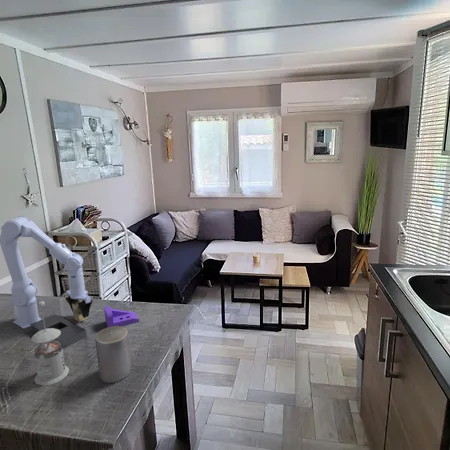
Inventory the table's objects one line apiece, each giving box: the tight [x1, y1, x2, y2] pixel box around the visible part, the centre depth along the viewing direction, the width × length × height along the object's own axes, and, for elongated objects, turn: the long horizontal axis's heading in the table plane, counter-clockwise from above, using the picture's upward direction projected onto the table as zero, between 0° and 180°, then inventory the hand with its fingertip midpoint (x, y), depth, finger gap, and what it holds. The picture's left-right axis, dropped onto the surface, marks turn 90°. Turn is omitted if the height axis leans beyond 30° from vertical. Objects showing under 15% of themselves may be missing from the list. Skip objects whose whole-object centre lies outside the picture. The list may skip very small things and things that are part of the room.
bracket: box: [104, 305, 140, 328], centre depth 137 cm, size 12×7×7 cm, turn 118°
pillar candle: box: [94, 326, 132, 384], centre depth 104 cm, size 10×10×15 cm
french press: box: [30, 300, 70, 386], centre depth 104 cm, size 10×12×25 cm
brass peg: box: [72, 300, 89, 323], centre depth 140 cm, size 4×4×7 cm
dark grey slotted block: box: [30, 313, 87, 350], centre depth 129 cm, size 22×10×3 cm, turn 54°
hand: (80, 314), depth 141 cm, fingers open, 7 cm apart
